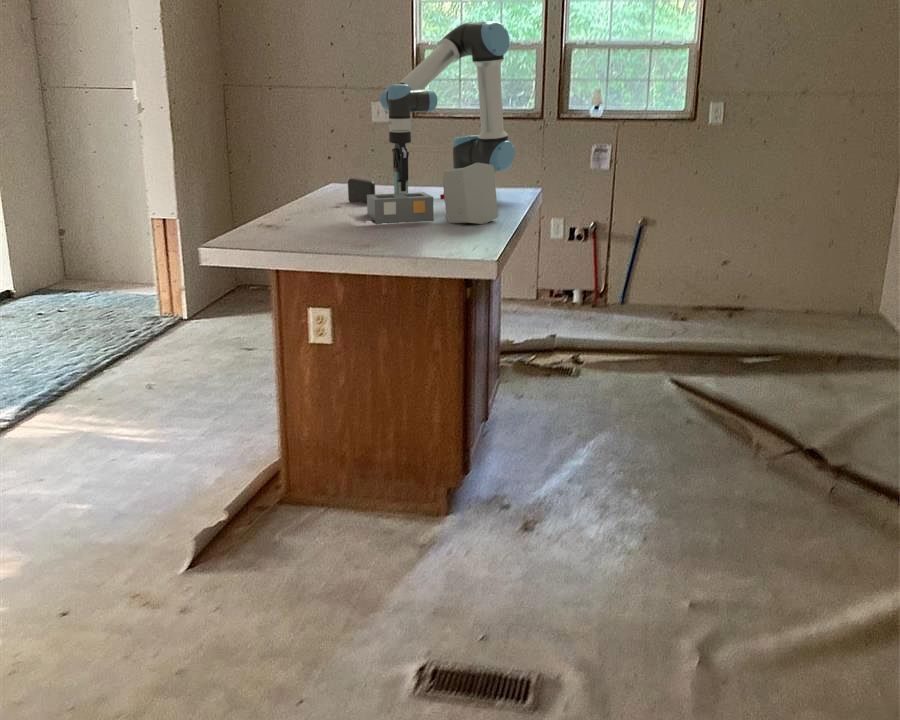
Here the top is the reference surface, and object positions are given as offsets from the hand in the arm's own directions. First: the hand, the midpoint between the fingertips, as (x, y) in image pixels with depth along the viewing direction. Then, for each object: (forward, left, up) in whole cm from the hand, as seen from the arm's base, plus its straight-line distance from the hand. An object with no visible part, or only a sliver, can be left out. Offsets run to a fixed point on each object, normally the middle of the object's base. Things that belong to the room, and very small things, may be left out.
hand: (401, 199), depth 314 cm
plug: (0, 0, -3) cm, 3 cm away
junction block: (+4, +14, -5) cm, 15 cm away
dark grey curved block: (+10, -21, -5) cm, 24 cm away
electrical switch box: (-16, +24, -5) cm, 29 cm away
